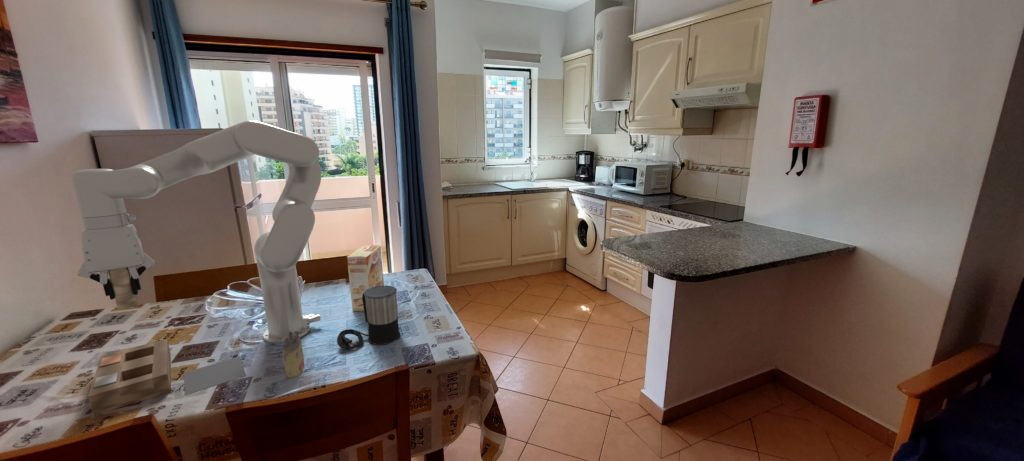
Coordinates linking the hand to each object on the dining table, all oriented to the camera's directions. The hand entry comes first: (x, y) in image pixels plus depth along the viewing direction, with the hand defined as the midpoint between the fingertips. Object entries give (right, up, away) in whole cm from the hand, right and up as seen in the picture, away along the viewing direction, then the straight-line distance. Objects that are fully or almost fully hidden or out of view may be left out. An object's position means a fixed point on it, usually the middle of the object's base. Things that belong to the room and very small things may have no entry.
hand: (124, 294), depth 100 cm
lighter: (+39, -20, +5) cm, 44 cm away
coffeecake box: (+43, -10, +47) cm, 65 cm away
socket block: (+3, -22, 0) cm, 22 cm away
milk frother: (+53, -17, +19) cm, 59 cm away
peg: (0, -3, +1) cm, 3 cm away
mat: (+20, -21, +3) cm, 29 cm away
